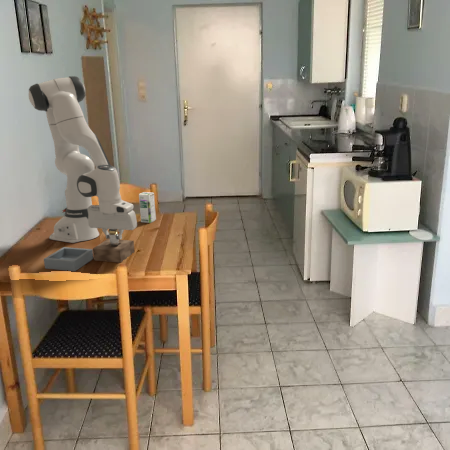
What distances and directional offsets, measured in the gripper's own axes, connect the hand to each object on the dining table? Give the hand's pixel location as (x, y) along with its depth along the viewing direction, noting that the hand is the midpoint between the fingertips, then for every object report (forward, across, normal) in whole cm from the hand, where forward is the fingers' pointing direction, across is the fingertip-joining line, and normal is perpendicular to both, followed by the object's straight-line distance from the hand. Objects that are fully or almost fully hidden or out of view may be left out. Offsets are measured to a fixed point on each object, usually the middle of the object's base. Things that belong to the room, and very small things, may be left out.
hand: (114, 238), depth 200 cm
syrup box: (+8, -7, +48) cm, 49 cm away
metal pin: (+7, 0, 0) cm, 7 cm away
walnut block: (+7, 0, 0) cm, 7 cm away
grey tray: (+7, -14, -11) cm, 20 cm away
